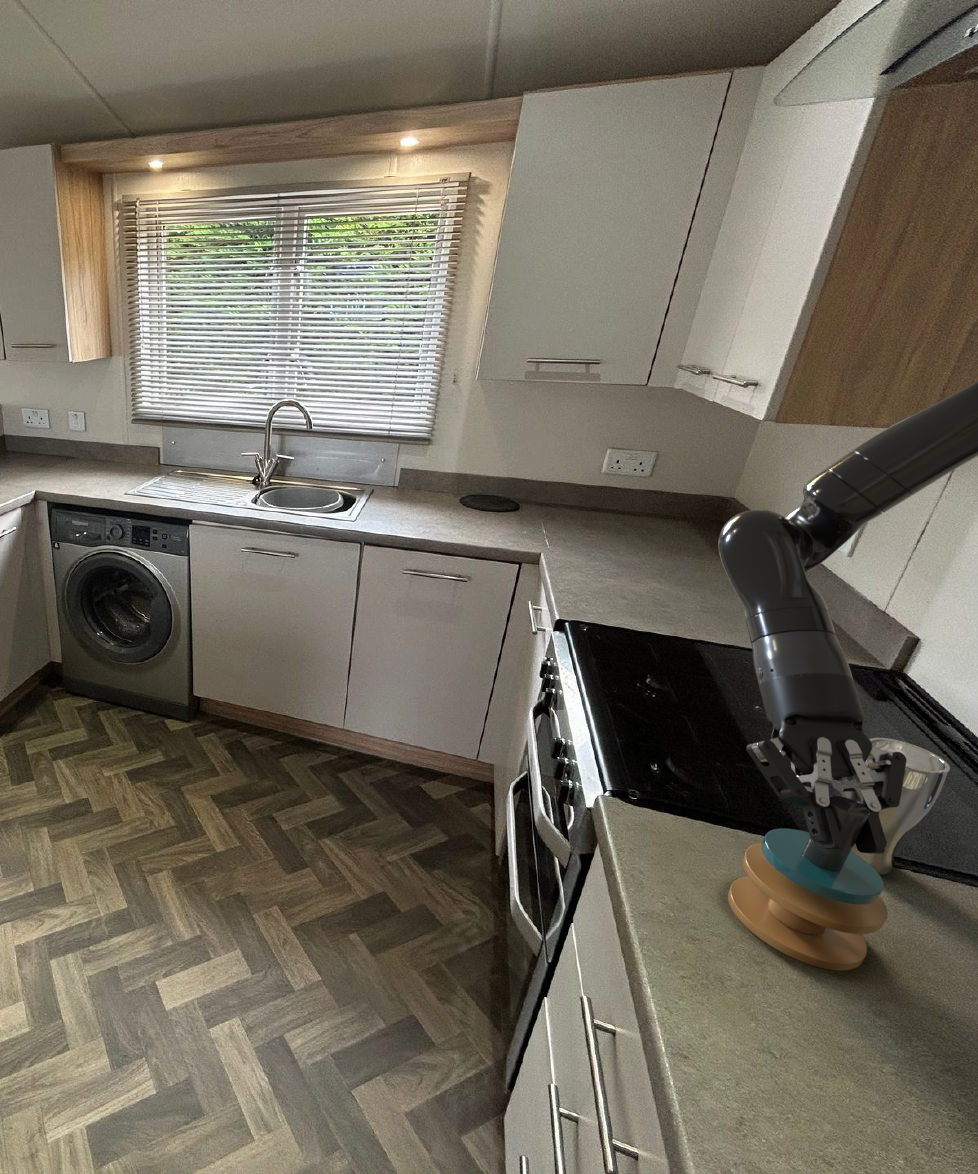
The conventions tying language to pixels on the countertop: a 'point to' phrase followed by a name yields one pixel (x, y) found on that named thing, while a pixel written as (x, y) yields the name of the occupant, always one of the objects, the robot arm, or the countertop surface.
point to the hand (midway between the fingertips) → (851, 849)
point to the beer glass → (907, 798)
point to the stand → (802, 916)
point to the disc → (827, 858)
